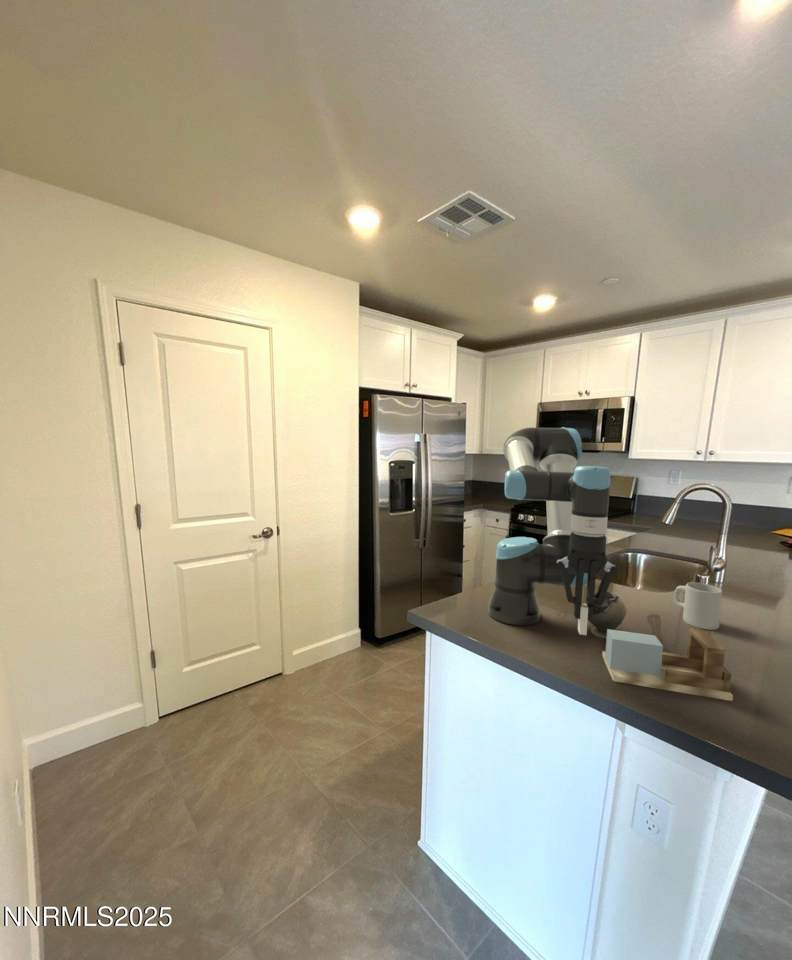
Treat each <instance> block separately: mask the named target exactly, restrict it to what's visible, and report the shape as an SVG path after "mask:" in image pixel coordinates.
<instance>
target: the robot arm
mask: <svg viewBox="0 0 792 960" xmlns="http://www.w3.org/2000/svg"><path fill="white" fill-rule="evenodd" d="M582 443H583V442H582V439H581V436H580V433H579V432H578V430H577V429H575V428H571V427H525V428H522V429H519V430H517V431H515V432H513V433H512V434H511V435H510V436H508V437H507V438H506V440H505V442H504V444H503V448H502V449H503V455H504V457H505V459H506V461H508V467H509V470H507V471H506V473H505V475H504V496H505V498H506V499H509V500H510V499H511V500H517V501H523V500H524V501H545V503H546V504H545V505H546V526H547V535H546V536H544V537H543V539H542V543H539V542H538V540H537V539H536V538H533V537H527V536H514V537H508V538H504V539H502V540H499V542H498V543H497V547H496V552H495V553H496V554H495V560H496V561H495V576H494V578H495V579H494V588H493V590H492V594H491V595H490V598H489V600H488V604H487V613H488V615H489V616H490V617H491V618H492V619H494V620H495V621H498V622H501V623H503V624H509V625H513V626H530V625H534V624H536V623H538V622H539V621H540V618H541V616H540V615H541V610H540V607H539V602H538V599H537V595H536V584H537V585H549V586H556V587H558V586H559V587H563V588H564V593H565V596H566V597H565V598H566V600H567V602H568V603H571V604H573V616H574V619H576V620H577V631H578V634H579V635H580V636H582V635H583V636H588V635H587V634H588V633H587V631H588V621H589V620H592V619H593V609H594V607H595V606H602V604H603V602H604V599H605V596H606V593H607V592H608V590H609V588H610V585H611V582H612V579H613V576H615V574H616V573H617V572H618V571H619V569H618V567H617V566H616V565H615V564H614V563H612V562H610V561H608V559H609V558H608V557H607V554H606V550H607V537H606V535H607V532H608V520H609V519H608V516H609V507H610V505H609V503H610V492H611V491H610V490H611V484H612V481H611V470H610V468H608V467H606V466H596V465H593V466H591V465H578V466H577V464H578V462H580V461H581V458H582V455H583V450H582V446H583V445H582ZM537 462H539V467H540V469H542V471H541V470H540V471H539V468H538V465H537ZM573 469H574V470H573ZM602 569H604V572H603V574H602V577H601V580H600V583H599V586H598V588H597V592H595V590H596V579H597V574H598V573H599V571H601V570H602ZM585 586H586V597H585V599H586V600H585V601H586V603H583V602H582V601H583V588H584V587H585ZM572 588H574V595H573V593H572V591H573V590H572ZM596 593H597V594H596ZM595 594H596V597H595V599H594V595H595Z"/></svg>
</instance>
